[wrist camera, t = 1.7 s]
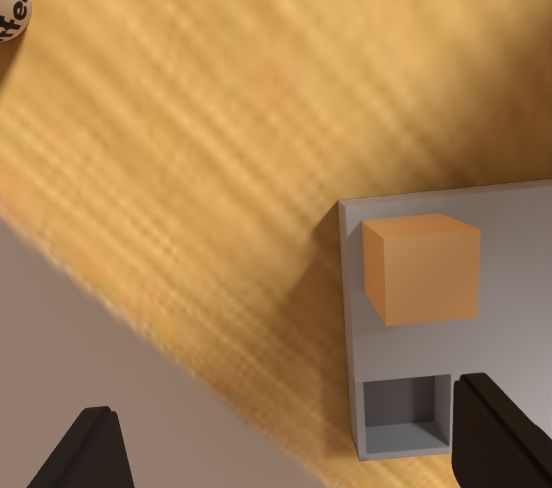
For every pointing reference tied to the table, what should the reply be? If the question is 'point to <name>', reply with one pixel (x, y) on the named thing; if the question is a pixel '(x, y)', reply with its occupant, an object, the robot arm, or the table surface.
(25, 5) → the cup
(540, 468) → the robot arm
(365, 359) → the grey sorting tray
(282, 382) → the table surface
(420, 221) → the block
